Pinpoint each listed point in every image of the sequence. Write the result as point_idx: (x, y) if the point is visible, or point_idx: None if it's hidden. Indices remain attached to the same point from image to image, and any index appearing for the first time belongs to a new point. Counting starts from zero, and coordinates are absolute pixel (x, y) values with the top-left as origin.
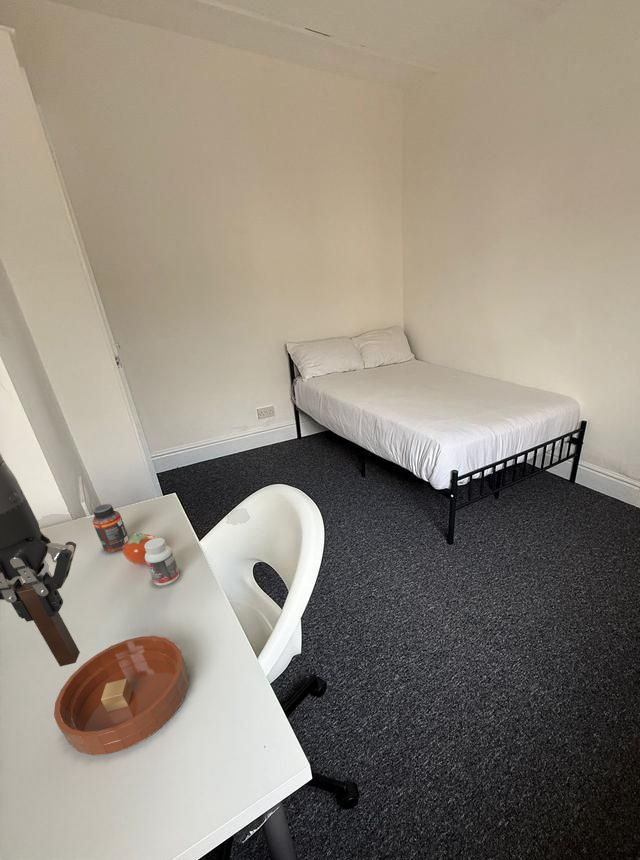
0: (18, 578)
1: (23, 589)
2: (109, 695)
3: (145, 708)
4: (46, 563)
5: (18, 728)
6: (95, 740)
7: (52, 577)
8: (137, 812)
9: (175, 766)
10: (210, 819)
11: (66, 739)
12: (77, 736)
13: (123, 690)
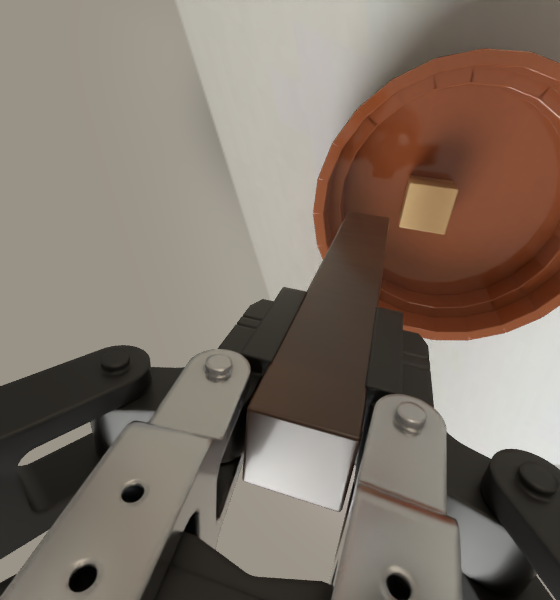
0: (218, 466)
1: (272, 481)
2: (417, 223)
3: (474, 244)
4: (458, 571)
5: (241, 162)
6: None
7: (459, 522)
8: (436, 398)
9: (500, 370)
10: None
11: None
12: None
13: (447, 224)
